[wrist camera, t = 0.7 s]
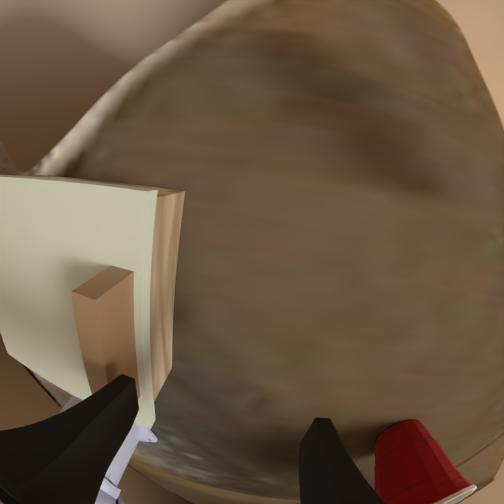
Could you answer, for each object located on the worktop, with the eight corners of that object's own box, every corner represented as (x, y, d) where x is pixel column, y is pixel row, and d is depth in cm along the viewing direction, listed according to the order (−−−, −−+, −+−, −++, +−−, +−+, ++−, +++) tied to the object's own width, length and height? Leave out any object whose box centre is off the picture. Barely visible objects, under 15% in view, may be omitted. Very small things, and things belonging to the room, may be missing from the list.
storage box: (185, 191, 16) (149, 198, 11) (171, 367, 20) (150, 409, 15) (39, 175, 17) (-4, 181, 12) (48, 319, 21) (17, 343, 16)
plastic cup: (368, 468, 23) (381, 542, 12) (338, 438, 21) (351, 538, 10) (445, 429, 21) (474, 498, 9) (435, 387, 19) (482, 478, 8)
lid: (157, 189, 11) (104, 199, 7) (155, 419, 15) (135, 461, 11) (-10, 174, 12) (-50, 181, 8) (14, 347, 16) (-12, 369, 12)
